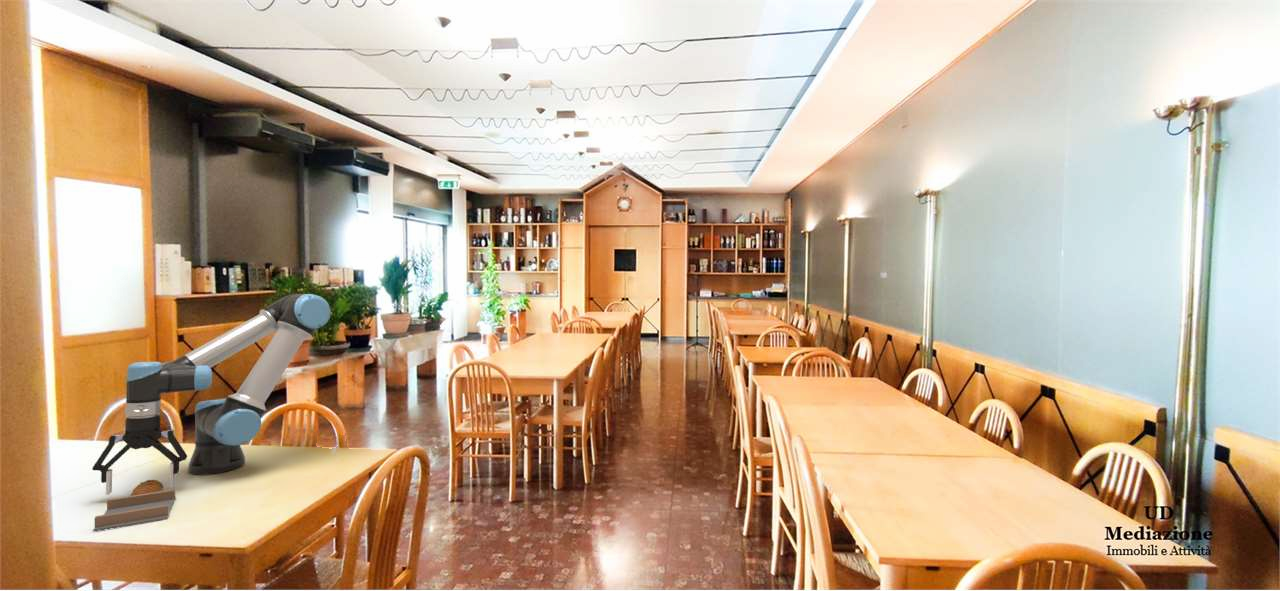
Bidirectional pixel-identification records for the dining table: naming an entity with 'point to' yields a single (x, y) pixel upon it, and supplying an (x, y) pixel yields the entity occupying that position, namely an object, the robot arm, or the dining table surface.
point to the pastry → (148, 487)
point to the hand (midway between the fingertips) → (140, 489)
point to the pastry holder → (136, 510)
